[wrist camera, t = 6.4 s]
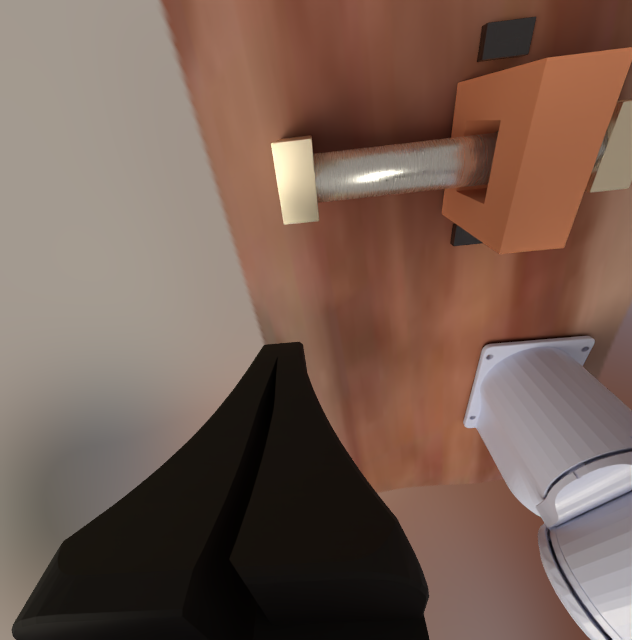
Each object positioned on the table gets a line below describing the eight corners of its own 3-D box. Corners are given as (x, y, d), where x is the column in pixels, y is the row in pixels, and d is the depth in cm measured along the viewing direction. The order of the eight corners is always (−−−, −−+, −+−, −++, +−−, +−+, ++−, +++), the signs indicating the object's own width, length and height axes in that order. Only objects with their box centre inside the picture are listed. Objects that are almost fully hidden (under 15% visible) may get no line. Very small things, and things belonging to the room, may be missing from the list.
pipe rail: (612, 9, 13) (727, -35, 9) (542, 234, 18) (597, 260, 15) (268, 54, 14) (253, 30, 10) (297, 258, 19) (294, 289, 15)
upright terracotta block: (512, 76, 14) (637, 46, 9) (485, 209, 17) (564, 247, 12) (458, 82, 14) (547, 57, 9) (441, 213, 17) (499, 254, 12)
